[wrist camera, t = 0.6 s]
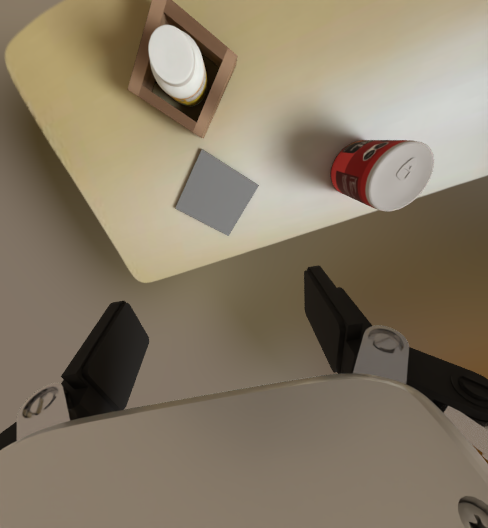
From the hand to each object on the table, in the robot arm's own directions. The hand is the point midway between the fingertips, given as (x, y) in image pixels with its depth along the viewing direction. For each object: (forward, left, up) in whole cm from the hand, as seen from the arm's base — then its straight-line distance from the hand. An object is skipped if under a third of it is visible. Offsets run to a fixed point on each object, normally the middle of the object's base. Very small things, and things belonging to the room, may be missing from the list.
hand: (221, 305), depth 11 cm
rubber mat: (+1, -1, -27) cm, 27 cm away
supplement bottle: (-10, -11, -28) cm, 31 cm away
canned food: (-14, +16, -28) cm, 35 cm away
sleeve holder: (-10, -11, -27) cm, 31 cm away
